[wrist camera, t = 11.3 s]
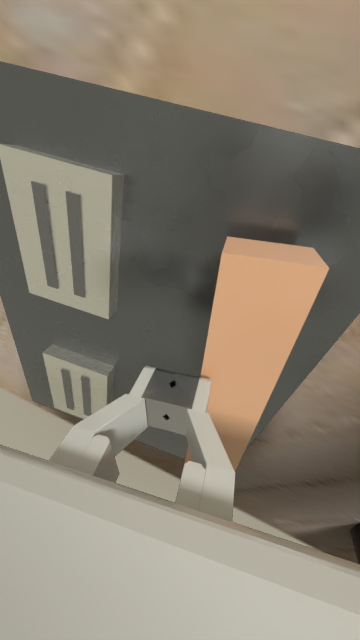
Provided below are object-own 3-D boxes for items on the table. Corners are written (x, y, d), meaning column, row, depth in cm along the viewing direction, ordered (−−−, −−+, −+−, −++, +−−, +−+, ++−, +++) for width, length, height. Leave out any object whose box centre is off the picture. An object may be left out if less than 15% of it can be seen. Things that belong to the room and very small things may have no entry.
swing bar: (228, 450, 18) (223, 526, 14) (190, 439, 19) (174, 510, 15) (310, 240, 9) (356, 296, 5) (227, 229, 9) (210, 273, 5)
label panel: (-38, 57, 10) (-115, 28, 8) (441, 174, 8) (505, 177, 6) (43, 389, 24) (24, 410, 22) (226, 457, 22) (223, 488, 20)
